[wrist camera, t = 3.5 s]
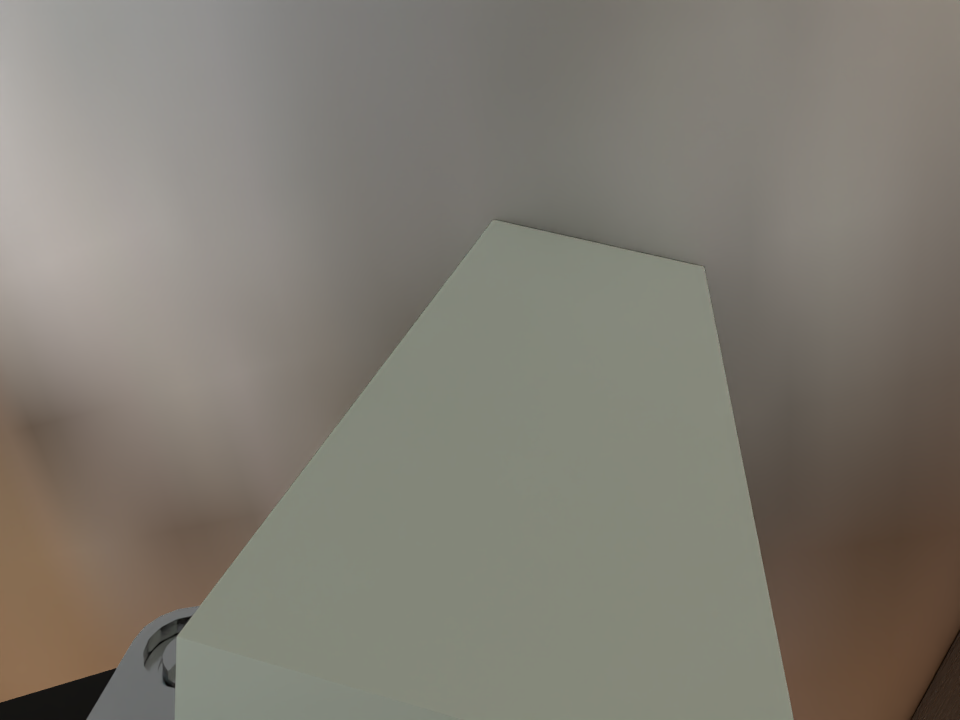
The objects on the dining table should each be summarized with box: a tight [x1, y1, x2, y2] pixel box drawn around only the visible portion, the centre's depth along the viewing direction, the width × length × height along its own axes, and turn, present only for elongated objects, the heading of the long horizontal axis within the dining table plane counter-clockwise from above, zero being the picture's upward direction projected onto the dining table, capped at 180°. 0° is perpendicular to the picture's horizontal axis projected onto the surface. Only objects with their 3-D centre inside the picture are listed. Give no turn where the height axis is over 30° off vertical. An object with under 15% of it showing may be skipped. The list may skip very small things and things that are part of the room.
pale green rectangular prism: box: [175, 220, 794, 720], centre depth 11 cm, size 8×4×10 cm, turn 170°
